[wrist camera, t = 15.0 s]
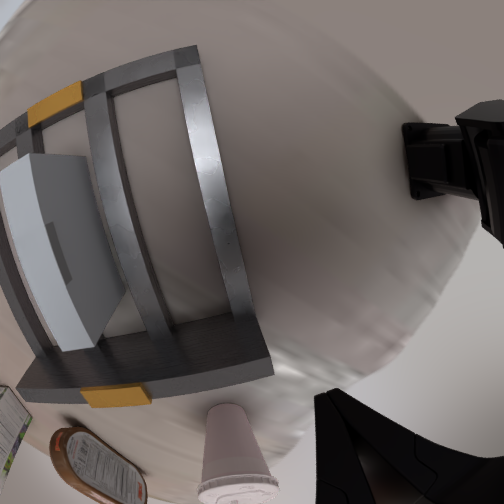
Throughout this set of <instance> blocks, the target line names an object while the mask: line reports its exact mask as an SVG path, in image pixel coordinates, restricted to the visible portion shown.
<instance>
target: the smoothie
mask: <svg viewBox="0 0 504 504" xmlns="http://www.w3.org/2000/svg"><path fill="white" fill-rule="evenodd" d="M197 491H198V498H199V500H200V501H201V502H203V503H204V504H261V503H264V502H267V501H269V500H271V499H273V498H274V497H276V496H277V495H278V494H279V492H280V489H279V486H278V480H277V479H276V478H274V477H273V476H271V474H270V471H269V469H268V467H267V464H266V462H265V460H264V458H263V455H262V453H261V451H260V448H259V446H258V443H257V441H256V439H255V436H254V434H253V431H252V429H251V426H250V424H249V421H248V419H247V416H246V413H245V411H244V409H243V408H242V407H241V406H239V405H236V404H231V403H224V404H219V405H216V406H214V407H212V408H211V409H210V410H209V411H208V415H207V425H206V435H205V446H204V457H203V469H202V482H201V484H200V485H199V486H198V488H197Z"/></svg>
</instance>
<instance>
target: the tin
mask: <svg viewBox="0 0 504 504" xmlns="http://www.w3.org/2000/svg"><path fill="white" fill-rule="evenodd" d="M49 450H50V457H51V460H52V463H53V466H54V468H55V469H56V471H57V473H58V474H59V476H60V477H61V478H62V479H63V480H64V481H65V482H66V483H67V484H68V485H70V486H71V487H73V488H74V489H76V490H77V491H79V492H81V493H82V494H84V495H86V496H87V497H89V498H91V499H93V500H94V501H96V502H98V503H100V504H147V498H148V496H147V486H146V483H145V480H144V478H143V476H142V475H141V473H140V472H139V470H138V469H137V468H136V467H135V466H134V465H133V464H132V463H131V462H129V461H128V460H127V459H125V458H124V457H123V456H121V455H120V454H119V453H117V452H116V451H115V450H113V449H112V448H111V447H109V446H108V445H107V444H106V443H104V442H103V441H102V440H101V439H100V438H98V437H97V436H96V435H95V434H94V433H92V432H91V431H89V430H88V429H85V428H83V427H70V428H61V429H59V430H57V431H56V432H55V433H54V434H53V435H52V437H51V440H50V446H49Z"/></svg>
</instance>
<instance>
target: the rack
mask: <svg viewBox="0 0 504 504" xmlns="http://www.w3.org/2000/svg"><path fill="white" fill-rule="evenodd" d="M176 77H178V82H179V88H180V93H181V98H182V103H183V109H184V114H185V119H186V123H187V128H188V133H189V138H190V143H191V147H192V152H193V157H194V161H195V166H196V170H197V175H198V179H199V183H200V188H201V192H202V196H203V201H204V205H205V209H206V213H207V217H208V221H209V226H210V230H211V234H212V238H213V242H214V246H215V250H216V253H217V257H218V261H219V265H220V269H221V273H222V276H223V280H224V284H225V288H226V291H227V295H228V299H229V302H230V306H231V310H232V312H230V313H226V314H222V315H218V316H214V317H210V318H205V319H201V320H197V321H192V322H188V323H183V324H179V325H173V322H172V320H171V317H170V315H169V312H168V309H167V307H166V304H165V301H164V299H163V296H162V293H161V290H160V288H159V285H158V282H157V279H156V276H155V273H154V270H153V267H152V264H151V261H150V258H149V255H148V251H147V248H146V245H145V242H144V238H143V235H142V232H141V228H140V225H139V221H138V217H137V214H136V210H135V206H134V202H133V198H132V194H131V190H130V186H129V182H128V178H127V173H126V169H125V164H124V159H123V155H122V149H121V144H120V139H119V133H118V128H117V122H116V115H115V109H114V102H113V97H114V96H117V95H120V94H123V93H125V92H128V91H131V90H134V89H137V88H140V87H144V86H147V85H150V84H153V83H157V82H160V81H164V80H168V79H172V78H176ZM83 109H85V116H86V123H87V130H88V137H89V143H90V149H91V154H92V159H93V165H94V169H95V174H96V179H97V183H98V187H99V192H100V196H101V200H102V204H103V208H104V211H105V215H106V219H107V222H108V226H109V229H110V232H111V236H112V239H113V242H114V245H115V248H116V251H117V255H118V258H119V260H120V263H121V266H122V269H123V272H124V275H125V277H126V280H127V283H128V286H129V288H130V291H131V293H132V296H133V298H134V301H135V303H136V306H137V308H138V311H139V313H140V316H141V318H142V320H143V323H144V325H145V327H146V329H147V331H144V332H139V333H134V334H129V335H123V336H118V337H112V338H106V339H105V338H104V336H103V334H101V336H100V338H99V340H98V342H97V343H96V345H95V347H91V348H84V349H78V350H70V351H63V352H62V350H61V348H60V347H59V346H52V344H51V342H50V340H49V339H48V337H47V335H46V333H45V331H44V329H43V327H42V325H41V323H40V321H39V319H38V317H37V315H36V313H35V311H34V309H33V307H32V304H31V302H30V300H29V298H28V295H27V293H26V291H25V288H24V286H23V283H22V281H21V278H20V276H19V273H18V270H17V267H16V265H15V262H14V259H13V256H12V253H11V250H10V246H9V243H8V240H7V236H6V233H5V229H4V225H3V221H2V217H1V213H0V285H1V287H2V290H3V292H4V295H5V297H6V299H7V302H8V304H9V306H10V308H11V311H12V313H13V315H14V317H15V319H16V321H17V323H18V325H19V327H20V329H21V331H22V333H23V335H24V336H25V338H26V340H27V342H28V344H29V345H30V347H31V349H32V351H33V352H34V354H35V356H36V358H35V359H34V361H33V362H32V364H31V365H30V366H29V368H28V369H27V371H26V372H25V374H24V375H23V377H22V378H21V380H20V382H19V383H18V385H17V386H16V389H17V391H18V392H19V394H20V395H21V396H22V398H23V399H24V400H25V401H26V402H36V403H58V404H89V405H90V406H91V407H92V408H106V407H124V406H137V405H147V404H151V403H152V399H156V398H164V397H172V396H178V395H185V394H191V393H197V392H202V391H207V390H213V389H217V388H222V387H227V386H232V385H236V384H240V383H244V382H249V381H253V380H257V379H260V378H264V377H268V376H272V375H275V374H274V370H273V365H272V361H271V357H270V354H269V351H268V348H267V346H266V343H265V340H264V337H263V335H262V332H261V329H260V326H259V323H258V321H257V318H256V314H255V310H254V306H253V301H252V297H251V293H250V288H249V284H248V280H247V275H246V271H245V267H244V262H243V258H242V254H241V249H240V245H239V240H238V236H237V232H236V227H235V223H234V218H233V214H232V209H231V205H230V200H229V196H228V191H227V187H226V182H225V177H224V173H223V168H222V164H221V159H220V155H219V150H218V145H217V141H216V136H215V131H214V127H213V122H212V117H211V112H210V108H209V103H208V98H207V93H206V88H205V84H204V79H203V74H202V69H201V64H200V59H199V54H198V49H197V45H193V46H189V47H184V48H179V49H175V50H171V51H167V52H163V53H160V54H156V55H152V56H149V57H146V58H142V59H139V60H136V61H133V62H130V63H127V64H124V65H121V66H119V67H116V68H113V69H111V70H108V71H106V72H103V73H101V74H98V75H96V76H94V77H91V78H89V79H87V80H84V81H81V80H80V81H78V82H76V83H74V84H72V85H70V86H68V87H66V88H64V89H62V90H60V91H58V92H56V93H54V94H52V95H51V96H49V97H47V98H45V99H43V100H42V101H40V102H38V103H37V104H35V105H33V106H32V107H30V108H29V109H27V110H28V111H27V112H25V113H24V114H22V115H21V116H19V117H18V118H16V119H15V120H13V121H12V122H10V123H9V124H8V125H6V126H5V127H3V128H2V129H1V130H0V156H1V155H3V154H4V153H6V152H7V151H9V150H10V149H12V148H13V147H15V146H16V145H17V153H18V160H19V159H20V158H22V157H23V156H25V155H27V154H28V153H37V154H44V147H43V139H42V130H43V129H45V128H47V127H48V126H50V125H52V124H54V123H56V122H58V121H60V120H62V119H64V118H66V117H68V116H70V115H72V114H74V113H76V112H78V111H81V110H83Z"/></svg>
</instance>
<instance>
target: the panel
mask: <svg viewBox="0 0 504 504" xmlns="http://www.w3.org/2000/svg"><path fill="white" fill-rule="evenodd" d="M0 186H1V192H2V197H3V202H4V206H5V211H6V215H7V219H8V223H9V227H10V230H11V234H12V237H13V243H14V246H15V249H16V252H17V255H18V258H19V261H20V264H21V267H22V269H23V272H24V275H25V277H26V280H27V282H28V285H29V287H30V290H31V292H32V294H33V295H34V297H35V300H36V302H37V304H38V306H39V308H40V310H41V313H42V315H43V317H44V319H45V321H46V323H47V325H48V327H49V329H50V330H51V332H52V334H53V336H54V338H55V340H56V341H57V343H58V345H59V347H60V348H61V350H62V352H63V351H70V350H78V349H84V348H91V347H95V345H96V343H97V342H98V340H99V338H100V336H101V334H102V332H103V330H104V329H105V327H106V325H107V323H108V321H109V319H110V318H111V316H112V314H113V312H114V311H115V309H116V307H117V305H118V304H119V302H120V300H121V299H122V297H123V295H124V293H125V292H126V291H125V289H124V286H123V284H122V281H121V278H120V276H119V273H118V270H117V268H116V265H115V262H114V259H113V256H112V253H111V250H110V247H109V244H108V241H107V238H106V235H105V232H104V228H103V225H102V222H101V218H100V215H99V211H98V207H97V203H96V200H95V196H94V192H93V188H92V183H91V179H90V175H89V170H88V165H87V160H86V157H84V156H71V155H57V154H37V153H28V154H27V155H25V156H23V157H22V158H20V159H19V160H17V161H15V162H14V163H12V164H11V165H9V166H8V167H6V168H5V169H3V170H2V171H0Z"/></svg>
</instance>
